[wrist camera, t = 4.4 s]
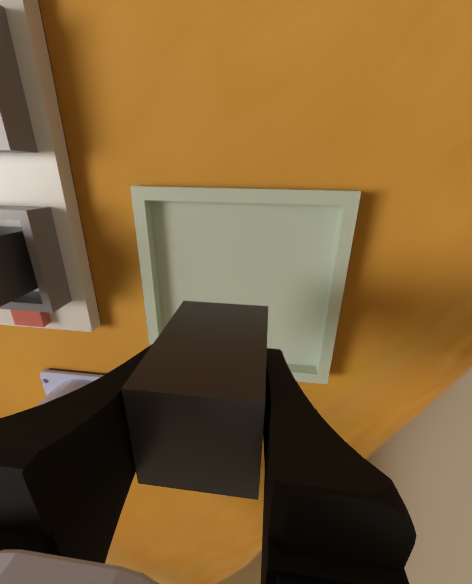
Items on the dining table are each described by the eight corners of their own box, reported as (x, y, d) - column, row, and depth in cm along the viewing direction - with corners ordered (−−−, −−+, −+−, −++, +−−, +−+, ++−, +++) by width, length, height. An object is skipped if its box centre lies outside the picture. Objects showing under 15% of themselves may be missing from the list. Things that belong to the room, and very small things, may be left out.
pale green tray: (324, 372, 22) (327, 384, 21) (158, 357, 24) (152, 368, 22) (354, 190, 17) (361, 191, 16) (140, 185, 19) (130, 186, 17)
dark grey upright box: (263, 376, 14) (258, 499, 9) (187, 369, 15) (138, 483, 9) (268, 306, 13) (265, 402, 7) (183, 300, 13) (121, 388, 8)
